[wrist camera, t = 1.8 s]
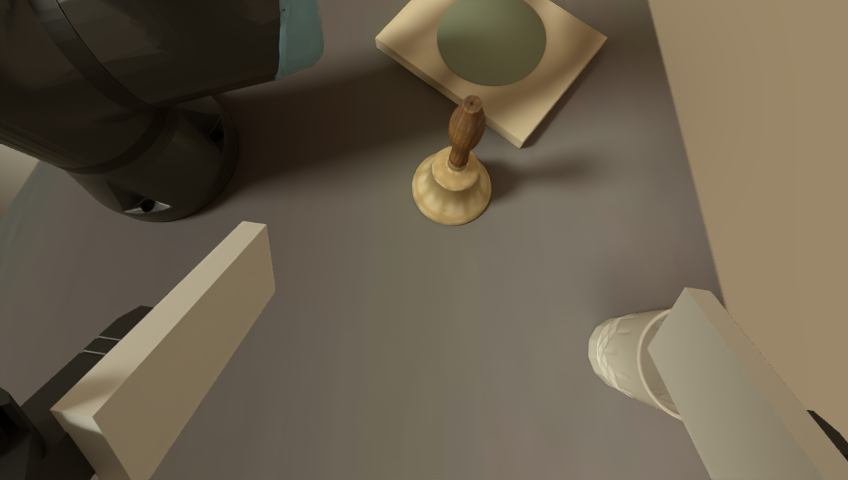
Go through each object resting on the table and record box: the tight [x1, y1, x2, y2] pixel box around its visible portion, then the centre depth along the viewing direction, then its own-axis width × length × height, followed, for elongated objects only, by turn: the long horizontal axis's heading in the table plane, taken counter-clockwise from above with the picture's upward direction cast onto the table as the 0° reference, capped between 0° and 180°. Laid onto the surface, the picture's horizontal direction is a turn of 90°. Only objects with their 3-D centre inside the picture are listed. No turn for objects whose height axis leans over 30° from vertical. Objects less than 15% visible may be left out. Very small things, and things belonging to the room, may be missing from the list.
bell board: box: [375, 0, 607, 149], centre depth 43 cm, size 20×16×2 cm
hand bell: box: [412, 95, 491, 225], centre depth 33 cm, size 8×8×16 cm
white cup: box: [588, 308, 683, 421], centre depth 32 cm, size 8×8×10 cm
